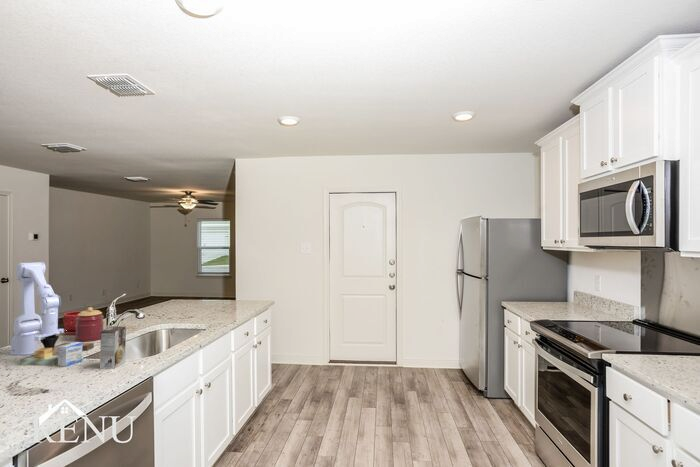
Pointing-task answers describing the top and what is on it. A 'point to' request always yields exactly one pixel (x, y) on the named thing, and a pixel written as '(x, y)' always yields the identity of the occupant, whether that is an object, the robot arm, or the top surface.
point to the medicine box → (69, 354)
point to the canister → (89, 325)
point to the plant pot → (70, 322)
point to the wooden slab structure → (52, 359)
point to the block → (43, 353)
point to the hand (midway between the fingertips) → (49, 352)
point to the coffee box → (112, 347)
